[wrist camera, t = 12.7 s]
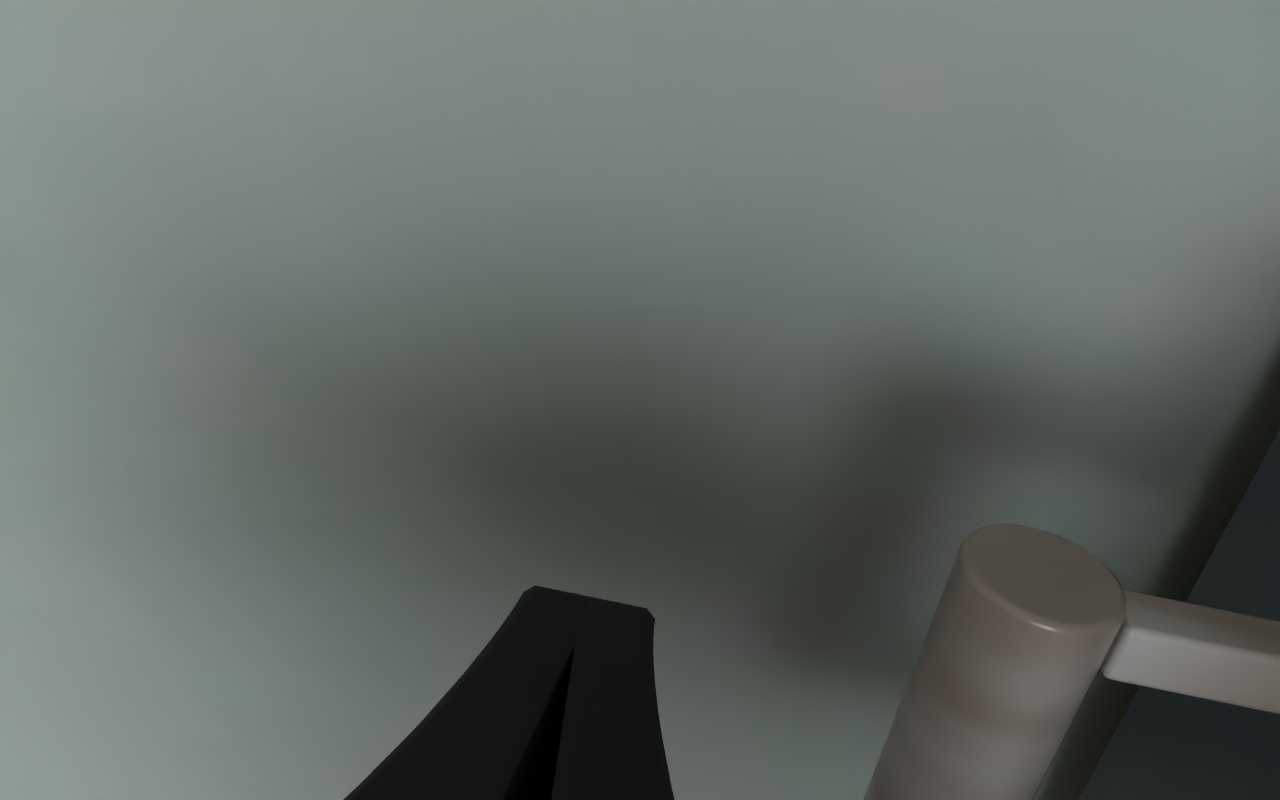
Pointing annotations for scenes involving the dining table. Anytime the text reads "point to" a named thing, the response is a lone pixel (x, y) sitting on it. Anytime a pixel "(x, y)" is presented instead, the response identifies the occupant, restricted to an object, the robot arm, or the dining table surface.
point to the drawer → (1073, 653)
